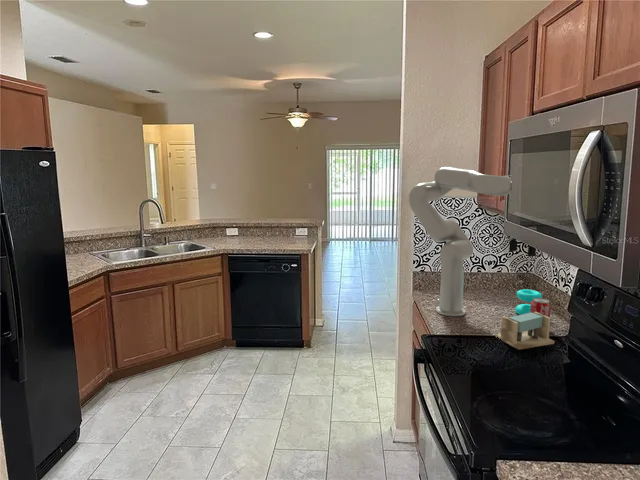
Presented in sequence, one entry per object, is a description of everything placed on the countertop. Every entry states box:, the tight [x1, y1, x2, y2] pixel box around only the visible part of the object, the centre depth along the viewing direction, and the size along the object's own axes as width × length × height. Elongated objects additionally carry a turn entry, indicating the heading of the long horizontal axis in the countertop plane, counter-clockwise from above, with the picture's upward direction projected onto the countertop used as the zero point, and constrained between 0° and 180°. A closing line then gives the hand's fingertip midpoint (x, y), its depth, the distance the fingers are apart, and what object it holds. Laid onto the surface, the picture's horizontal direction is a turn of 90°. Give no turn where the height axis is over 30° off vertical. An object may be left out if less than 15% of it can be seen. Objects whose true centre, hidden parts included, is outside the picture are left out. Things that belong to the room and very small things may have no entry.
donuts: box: [514, 288, 543, 315], centre depth 189 cm, size 10×10×10 cm
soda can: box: [530, 297, 551, 318], centre depth 172 cm, size 7×7×12 cm
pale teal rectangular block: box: [508, 313, 543, 333], centre depth 162 cm, size 12×5×4 cm, turn 116°
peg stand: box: [495, 312, 556, 350], centre depth 162 cm, size 12×16×9 cm
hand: (521, 253), depth 170 cm, fingers open, 9 cm apart
